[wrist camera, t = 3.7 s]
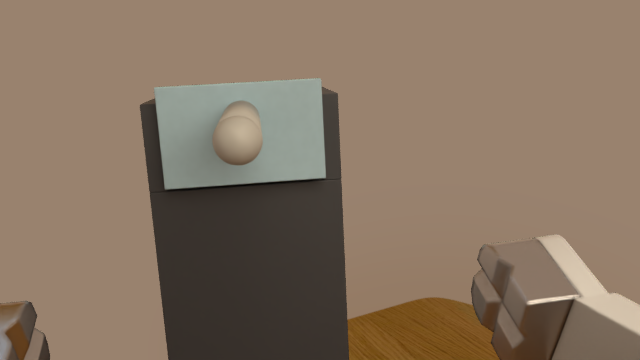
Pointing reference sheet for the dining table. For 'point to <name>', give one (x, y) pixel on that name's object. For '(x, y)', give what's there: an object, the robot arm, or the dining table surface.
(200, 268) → the box
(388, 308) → the dining table surface
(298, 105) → the tray
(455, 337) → the dining table surface
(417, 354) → the dining table surface
